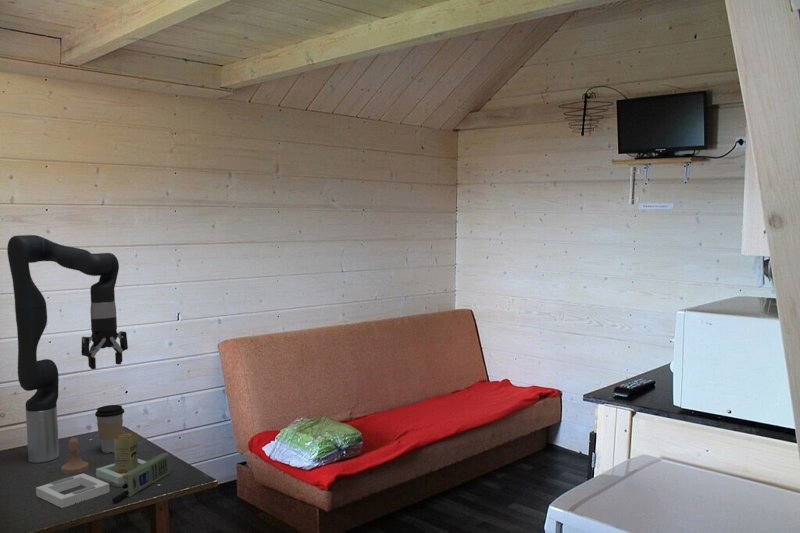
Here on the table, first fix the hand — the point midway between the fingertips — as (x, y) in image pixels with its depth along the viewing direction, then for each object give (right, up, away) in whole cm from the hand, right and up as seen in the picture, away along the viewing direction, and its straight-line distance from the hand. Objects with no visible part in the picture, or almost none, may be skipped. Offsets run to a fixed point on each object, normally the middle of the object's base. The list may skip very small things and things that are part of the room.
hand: (105, 366), depth 220 cm
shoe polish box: (+9, -33, -6) cm, 34 cm away
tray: (+9, -33, -6) cm, 35 cm away
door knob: (-11, -34, +2) cm, 35 cm away
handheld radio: (+17, -34, -15) cm, 41 cm away
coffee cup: (-7, -32, +20) cm, 39 cm away
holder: (-1, -34, -19) cm, 39 cm away
